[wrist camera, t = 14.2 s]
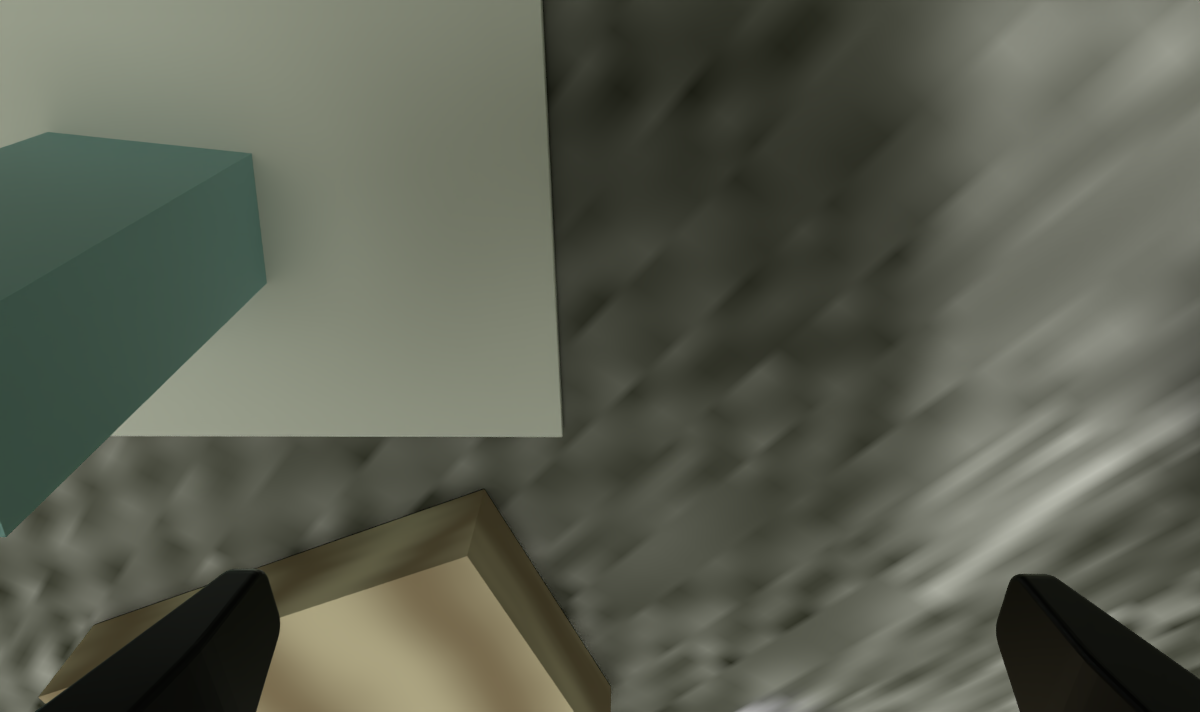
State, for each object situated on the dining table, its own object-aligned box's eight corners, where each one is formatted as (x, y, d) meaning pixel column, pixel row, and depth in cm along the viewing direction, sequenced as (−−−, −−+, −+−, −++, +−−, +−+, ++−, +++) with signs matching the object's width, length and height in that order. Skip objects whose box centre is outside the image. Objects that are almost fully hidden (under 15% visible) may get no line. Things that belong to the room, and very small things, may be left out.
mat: (536, -115, 17) (535, -116, 16) (563, 429, 23) (562, 437, 23) (-356, -95, 17) (-377, -96, 17) (-82, 428, 24) (-93, 435, 24)
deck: (484, 489, 24) (466, 556, 22) (611, 687, 29) (609, 763, 26) (93, 625, 28) (38, 697, 25) (258, 784, 32) (225, 859, 30)
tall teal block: (251, 153, 19) (-65, 338, 10) (267, 283, 21) (6, 537, 12) (47, 132, 19) (-446, 301, 10) (79, 264, 21) (-323, 506, 12)
